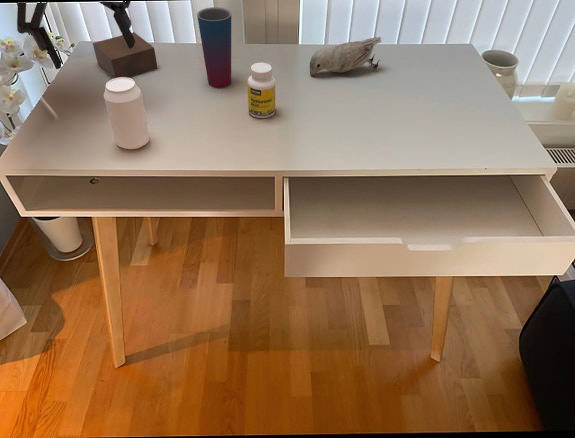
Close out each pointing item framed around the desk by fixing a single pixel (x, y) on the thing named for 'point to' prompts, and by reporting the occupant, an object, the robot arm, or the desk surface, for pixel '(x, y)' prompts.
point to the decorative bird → (344, 56)
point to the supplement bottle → (261, 91)
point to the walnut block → (125, 56)
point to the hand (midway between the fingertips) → (97, 55)
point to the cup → (216, 44)
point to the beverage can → (126, 113)
